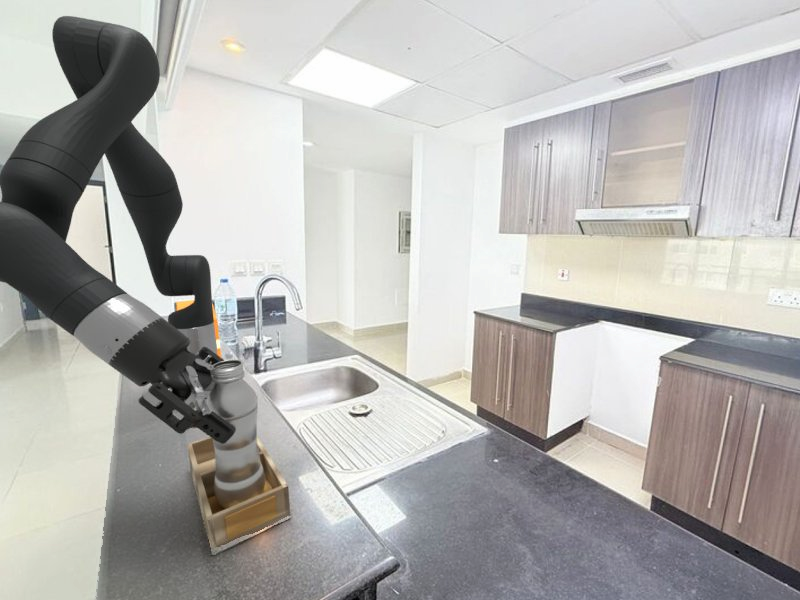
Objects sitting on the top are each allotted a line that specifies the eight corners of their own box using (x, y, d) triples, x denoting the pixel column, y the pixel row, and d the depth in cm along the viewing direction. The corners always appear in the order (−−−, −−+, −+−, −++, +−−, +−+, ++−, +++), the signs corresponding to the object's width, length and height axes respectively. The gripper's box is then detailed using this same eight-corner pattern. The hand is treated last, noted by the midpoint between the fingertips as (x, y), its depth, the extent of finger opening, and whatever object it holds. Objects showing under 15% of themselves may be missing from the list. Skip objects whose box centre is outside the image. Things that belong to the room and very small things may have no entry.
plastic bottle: (251, 477, 54) (238, 352, 51) (276, 497, 50) (264, 363, 46) (207, 502, 50) (189, 365, 46) (230, 526, 45) (213, 379, 42)
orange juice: (182, 367, 103) (173, 300, 99) (215, 360, 109) (208, 296, 105) (187, 376, 97) (178, 304, 94) (222, 368, 103) (215, 299, 99)
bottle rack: (190, 471, 58) (187, 443, 57) (252, 450, 64) (249, 424, 63) (212, 558, 43) (207, 522, 42) (291, 519, 48) (288, 487, 47)
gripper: (117, 333, 36) (244, 428, 40) (183, 305, 50) (273, 377, 54) (69, 385, 37) (199, 474, 40) (148, 343, 51) (240, 412, 54)
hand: (241, 419), depth 47 cm, fingers open, 8 cm apart
